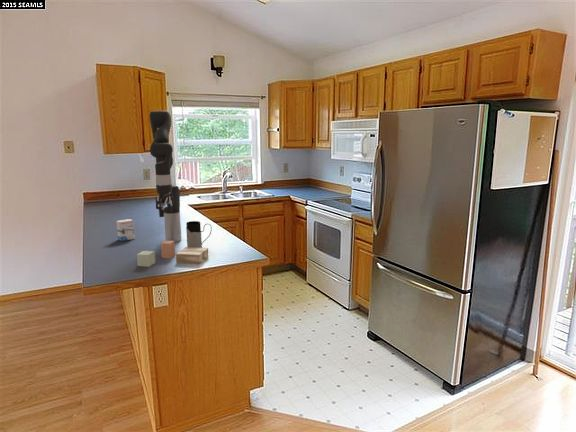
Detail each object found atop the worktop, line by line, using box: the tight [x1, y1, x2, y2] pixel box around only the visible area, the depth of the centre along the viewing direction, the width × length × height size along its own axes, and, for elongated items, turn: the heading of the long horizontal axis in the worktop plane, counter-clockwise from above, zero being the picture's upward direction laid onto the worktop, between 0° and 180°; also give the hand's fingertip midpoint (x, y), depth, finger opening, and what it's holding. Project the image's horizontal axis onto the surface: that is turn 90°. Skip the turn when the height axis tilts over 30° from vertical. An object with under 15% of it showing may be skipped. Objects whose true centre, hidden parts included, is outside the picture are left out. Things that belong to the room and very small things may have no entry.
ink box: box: [116, 218, 136, 242], centre depth 229 cm, size 9×5×12 cm, turn 135°
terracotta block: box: [160, 239, 176, 259], centre depth 197 cm, size 5×5×8 cm
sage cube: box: [136, 250, 156, 268], centre depth 185 cm, size 6×6×6 cm
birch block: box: [175, 246, 209, 265], centre depth 192 cm, size 12×12×5 cm
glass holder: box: [185, 220, 212, 248], centre depth 211 cm, size 9×14×15 cm, turn 111°
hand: (165, 215), depth 193 cm, fingers open, 8 cm apart
